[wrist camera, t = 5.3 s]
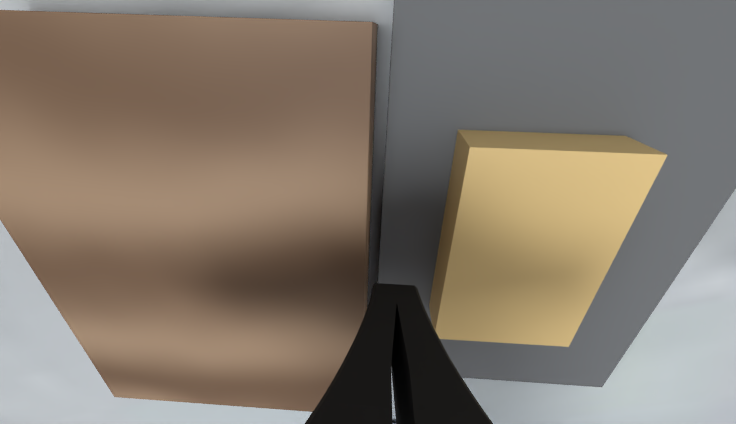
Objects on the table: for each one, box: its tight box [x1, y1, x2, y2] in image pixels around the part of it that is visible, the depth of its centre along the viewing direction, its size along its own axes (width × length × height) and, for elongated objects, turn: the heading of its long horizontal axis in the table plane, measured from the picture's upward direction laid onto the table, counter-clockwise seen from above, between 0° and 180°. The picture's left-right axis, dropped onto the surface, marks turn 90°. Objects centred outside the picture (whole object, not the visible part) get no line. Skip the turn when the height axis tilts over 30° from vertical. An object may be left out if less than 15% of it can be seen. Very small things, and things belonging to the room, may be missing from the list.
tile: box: [429, 130, 667, 347], centre depth 13 cm, size 9×6×2 cm, turn 179°
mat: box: [378, 0, 736, 387], centre depth 14 cm, size 20×14×1 cm
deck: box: [0, 10, 378, 412], centre depth 13 cm, size 16×12×4 cm
